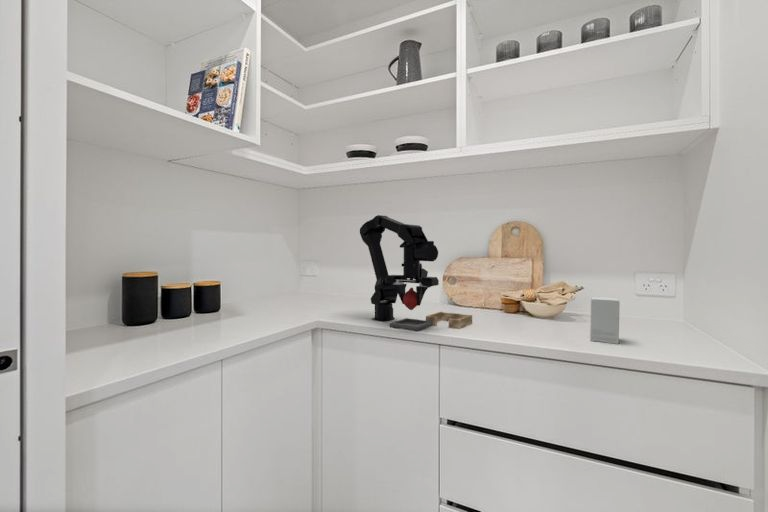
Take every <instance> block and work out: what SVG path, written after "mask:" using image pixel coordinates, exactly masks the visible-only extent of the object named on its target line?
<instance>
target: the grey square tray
mask: <svg viewBox="0 0 768 512" xmlns="http://www.w3.org/2000/svg"><path fill="white" fill-rule="evenodd" d="M433 326H434V325H433V321H426V319H425V320H423V319H417V318H410V317H409V318H407V317H406V318H403V319H399V320H395V321H392V322H389V328H392V329H398V330H399V329H401V330H407V331H413V332H419V331H422V330H424V329H428V328H430V327H433Z"/></svg>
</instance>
